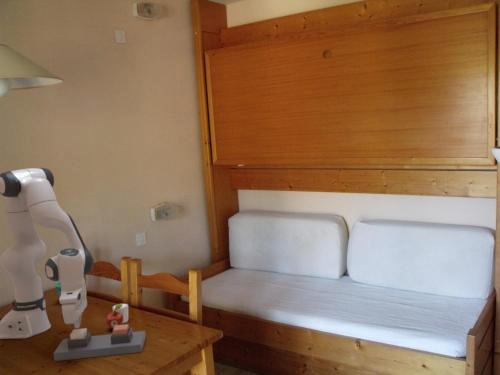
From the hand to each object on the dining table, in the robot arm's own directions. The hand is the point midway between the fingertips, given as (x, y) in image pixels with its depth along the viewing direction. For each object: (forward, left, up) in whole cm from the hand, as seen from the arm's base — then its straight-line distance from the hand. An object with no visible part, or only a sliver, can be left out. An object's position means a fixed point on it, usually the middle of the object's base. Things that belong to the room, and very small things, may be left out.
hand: (78, 326), depth 191 cm
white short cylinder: (+11, +28, -10) cm, 32 cm away
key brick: (+16, 0, -5) cm, 17 cm away
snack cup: (-21, +62, -10) cm, 66 cm away
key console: (+8, 0, -10) cm, 13 cm away
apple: (+10, +20, -10) cm, 25 cm away
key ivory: (0, 0, -5) cm, 5 cm away
